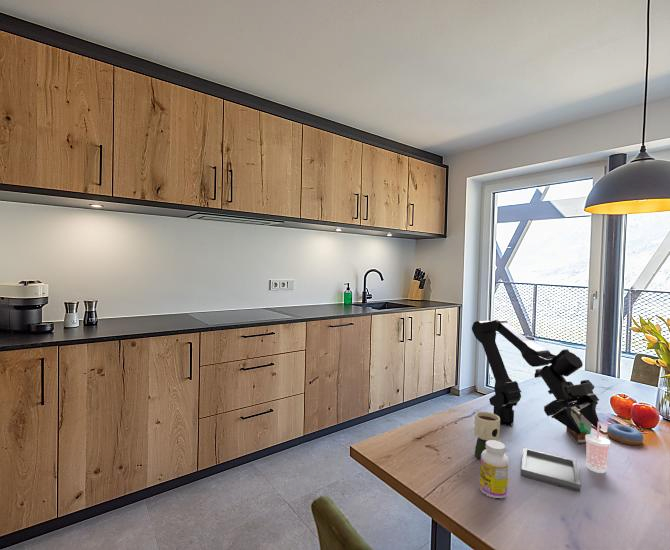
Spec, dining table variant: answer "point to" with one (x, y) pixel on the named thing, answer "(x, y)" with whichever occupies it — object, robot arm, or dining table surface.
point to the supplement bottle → (494, 470)
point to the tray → (550, 469)
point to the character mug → (485, 430)
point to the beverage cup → (596, 451)
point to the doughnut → (625, 434)
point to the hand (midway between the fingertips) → (590, 431)
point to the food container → (582, 424)
